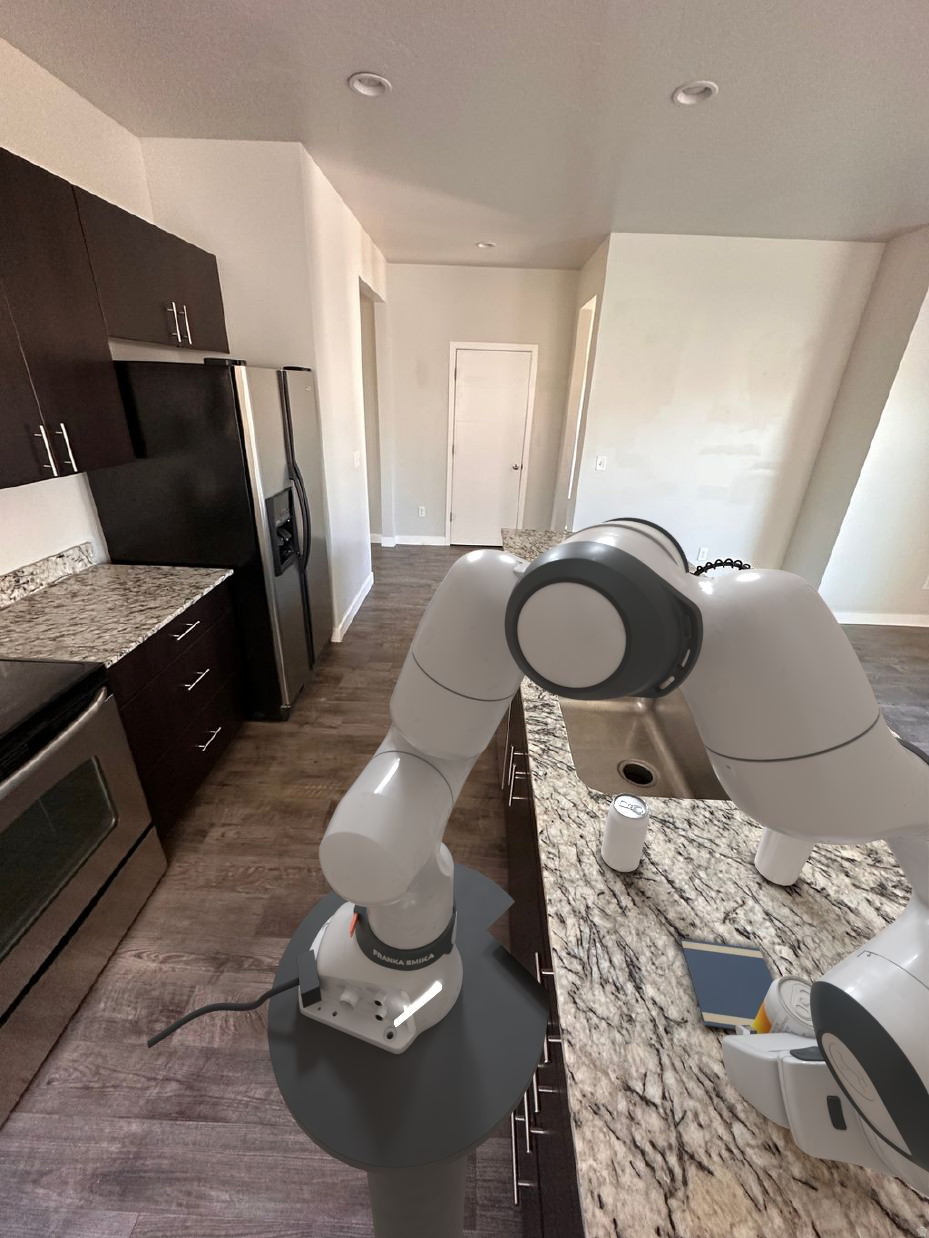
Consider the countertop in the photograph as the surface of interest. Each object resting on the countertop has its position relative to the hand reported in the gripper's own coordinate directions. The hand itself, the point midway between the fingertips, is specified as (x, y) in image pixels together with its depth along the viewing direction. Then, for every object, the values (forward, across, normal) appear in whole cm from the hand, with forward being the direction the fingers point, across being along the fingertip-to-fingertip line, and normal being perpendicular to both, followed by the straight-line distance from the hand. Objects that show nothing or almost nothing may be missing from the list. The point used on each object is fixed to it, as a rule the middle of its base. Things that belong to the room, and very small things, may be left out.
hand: (783, 1031), depth 54 cm
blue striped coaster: (+12, -2, -1) cm, 13 cm away
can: (+27, +7, -15) cm, 32 cm away
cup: (+25, -19, -13) cm, 34 cm away
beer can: (+6, 0, +6) cm, 9 cm away
